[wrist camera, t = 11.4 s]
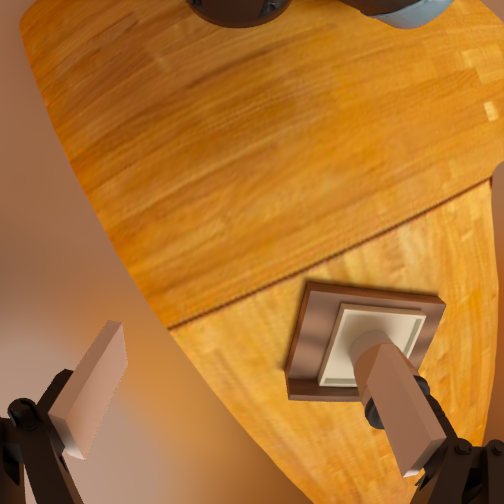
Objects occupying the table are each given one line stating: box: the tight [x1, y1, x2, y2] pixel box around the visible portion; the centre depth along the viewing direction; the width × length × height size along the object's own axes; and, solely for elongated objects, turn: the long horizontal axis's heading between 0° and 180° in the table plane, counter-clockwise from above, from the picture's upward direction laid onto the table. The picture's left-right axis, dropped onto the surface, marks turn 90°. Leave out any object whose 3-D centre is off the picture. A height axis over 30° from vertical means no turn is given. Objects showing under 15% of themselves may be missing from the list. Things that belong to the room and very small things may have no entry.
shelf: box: [285, 282, 446, 402], centre depth 46 cm, size 17×24×7 cm
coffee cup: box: [349, 330, 430, 430], centre depth 39 cm, size 9×9×15 cm
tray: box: [317, 303, 426, 387], centre depth 46 cm, size 14×14×2 cm
